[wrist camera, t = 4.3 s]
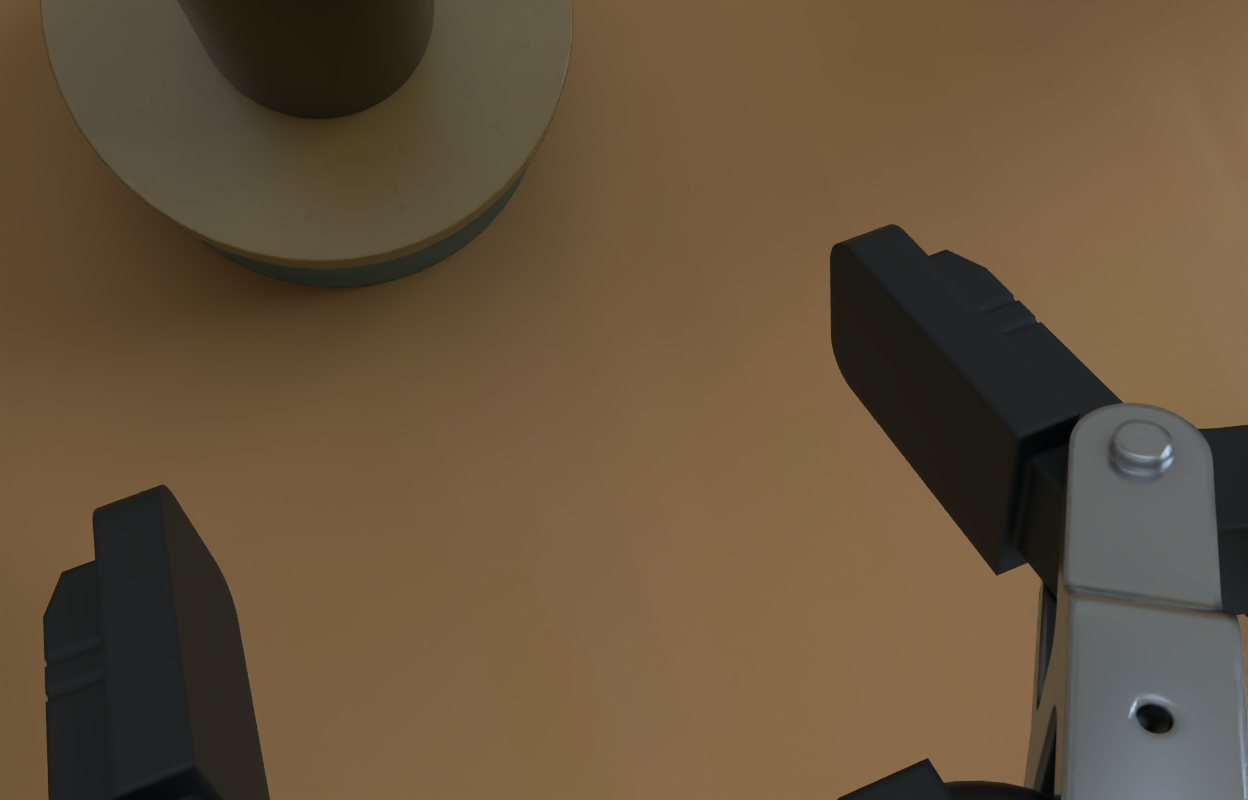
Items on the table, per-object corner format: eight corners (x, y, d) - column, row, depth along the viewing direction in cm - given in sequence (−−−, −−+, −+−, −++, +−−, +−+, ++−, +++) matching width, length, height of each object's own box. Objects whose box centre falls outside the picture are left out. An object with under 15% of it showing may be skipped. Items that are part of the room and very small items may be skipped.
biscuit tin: (483, -169, 35) (493, -294, 29) (599, 232, 35) (633, 189, 29) (54, -82, 33) (-28, -197, 27) (179, 345, 33) (124, 321, 27)
